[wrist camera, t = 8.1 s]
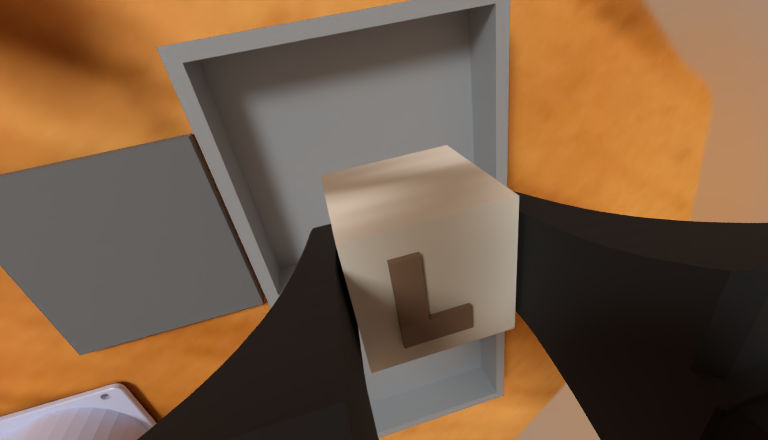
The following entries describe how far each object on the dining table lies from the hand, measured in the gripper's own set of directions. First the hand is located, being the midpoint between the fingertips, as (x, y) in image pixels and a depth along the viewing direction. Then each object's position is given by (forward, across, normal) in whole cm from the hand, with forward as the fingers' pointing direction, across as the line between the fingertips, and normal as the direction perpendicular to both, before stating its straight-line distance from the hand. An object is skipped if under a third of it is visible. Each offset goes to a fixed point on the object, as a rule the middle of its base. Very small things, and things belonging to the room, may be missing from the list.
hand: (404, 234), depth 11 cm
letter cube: (+1, 0, 0) cm, 1 cm away
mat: (+9, +12, +2) cm, 15 cm away
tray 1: (+9, 0, 0) cm, 9 cm away
